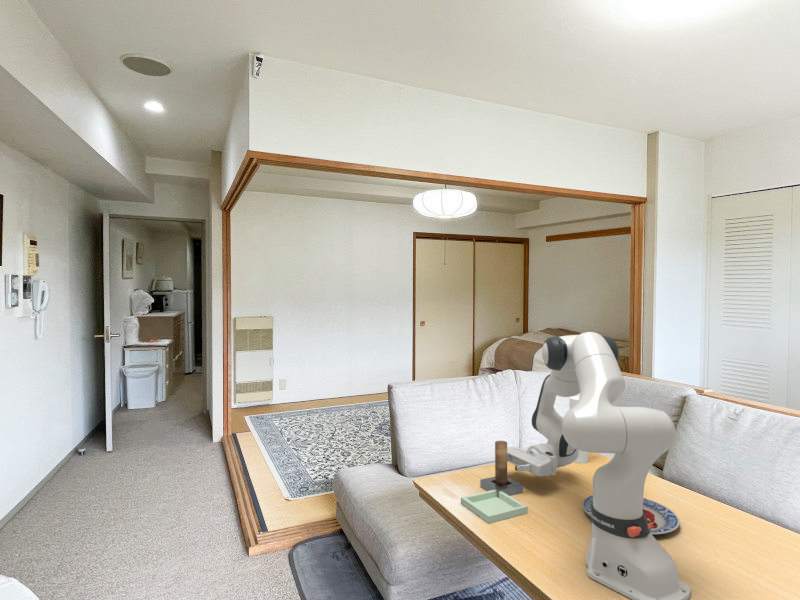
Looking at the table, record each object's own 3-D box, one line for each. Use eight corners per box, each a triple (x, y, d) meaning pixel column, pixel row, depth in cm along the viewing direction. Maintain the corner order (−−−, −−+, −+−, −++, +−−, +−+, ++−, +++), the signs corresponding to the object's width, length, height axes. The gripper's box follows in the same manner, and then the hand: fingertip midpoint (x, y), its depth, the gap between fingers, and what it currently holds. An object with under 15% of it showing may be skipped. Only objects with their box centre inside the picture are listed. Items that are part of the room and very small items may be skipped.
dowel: (509, 490, 156) (509, 443, 156) (500, 492, 154) (500, 444, 154) (502, 486, 159) (502, 440, 159) (492, 488, 157) (492, 441, 157)
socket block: (522, 493, 154) (522, 484, 154) (498, 499, 150) (498, 490, 150) (503, 483, 163) (503, 474, 163) (480, 488, 159) (480, 479, 159)
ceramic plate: (695, 546, 122) (695, 534, 122) (592, 536, 127) (592, 525, 127) (660, 503, 148) (660, 494, 148) (575, 496, 153) (575, 487, 153)
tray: (527, 514, 139) (527, 506, 139) (488, 525, 133) (488, 516, 133) (497, 496, 152) (497, 488, 152) (460, 505, 146) (460, 497, 146)
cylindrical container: (585, 464, 181) (585, 400, 181) (567, 460, 186) (567, 398, 185) (590, 459, 187) (590, 397, 187) (572, 455, 191) (572, 395, 191)
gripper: (518, 440, 173) (488, 446, 167) (559, 457, 154) (527, 464, 148) (518, 457, 173) (488, 463, 167) (559, 476, 154) (527, 483, 148)
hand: (507, 464), depth 157 cm, fingers open, 8 cm apart
